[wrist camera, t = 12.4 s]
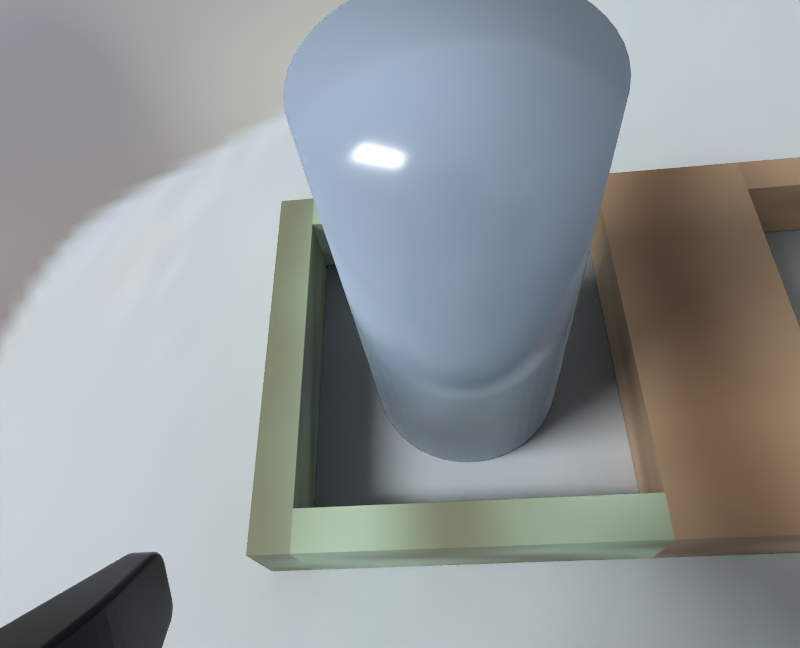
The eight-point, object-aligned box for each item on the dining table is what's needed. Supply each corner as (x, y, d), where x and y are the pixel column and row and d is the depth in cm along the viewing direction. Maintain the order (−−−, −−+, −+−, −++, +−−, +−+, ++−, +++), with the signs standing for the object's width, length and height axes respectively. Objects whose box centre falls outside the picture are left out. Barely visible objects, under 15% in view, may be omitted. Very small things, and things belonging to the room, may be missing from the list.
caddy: (1033, 184, 23) (1089, 132, 21) (1271, 536, 17) (1384, 512, 15) (298, 242, 26) (281, 201, 23) (271, 571, 19) (246, 555, 17)
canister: (467, 501, 20) (455, 270, 9) (343, 378, 22) (218, 87, 12) (592, 374, 22) (706, 52, 11) (463, 274, 24) (450, -67, 13)
